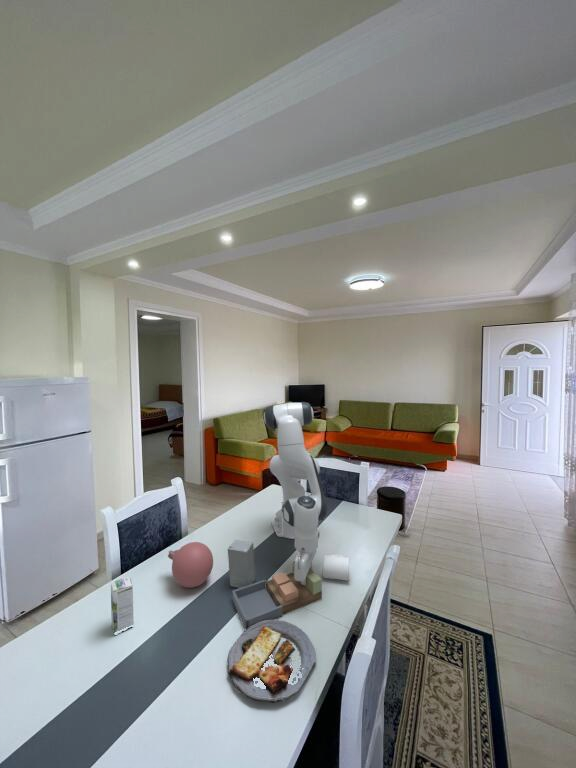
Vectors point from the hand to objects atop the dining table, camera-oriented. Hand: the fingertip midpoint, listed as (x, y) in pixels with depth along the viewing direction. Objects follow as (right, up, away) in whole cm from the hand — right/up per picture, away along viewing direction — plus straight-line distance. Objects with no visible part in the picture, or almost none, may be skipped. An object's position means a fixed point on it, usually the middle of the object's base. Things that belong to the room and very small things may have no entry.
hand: (306, 577), depth 120 cm
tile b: (-7, -2, -7) cm, 10 cm away
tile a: (-10, -2, -1) cm, 10 cm away
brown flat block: (-5, -5, -2) cm, 7 cm away
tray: (-18, -5, -9) cm, 21 cm away
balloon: (-46, -5, +5) cm, 46 cm away
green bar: (0, -2, 0) cm, 2 cm away
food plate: (-12, -7, -28) cm, 32 cm away
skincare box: (-25, -5, +3) cm, 25 cm away
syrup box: (-61, -6, -16) cm, 63 cm away
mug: (+13, -4, +9) cm, 16 cm away
